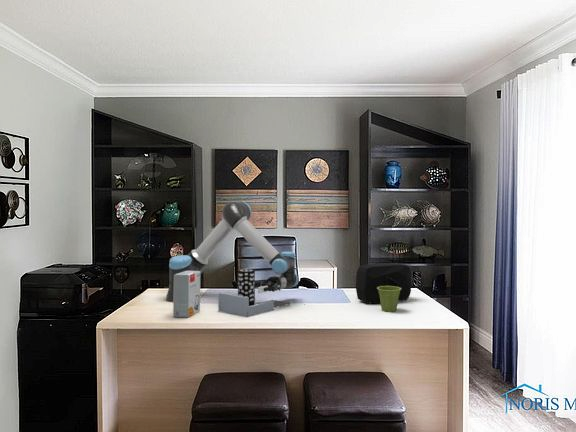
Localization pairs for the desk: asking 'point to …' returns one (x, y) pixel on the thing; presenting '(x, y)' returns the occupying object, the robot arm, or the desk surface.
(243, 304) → the bay
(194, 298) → the hard drive box
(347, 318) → the desk surface
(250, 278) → the spotted tube
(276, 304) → the mat
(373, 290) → the black hard case
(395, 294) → the plant pot
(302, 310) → the desk surface
